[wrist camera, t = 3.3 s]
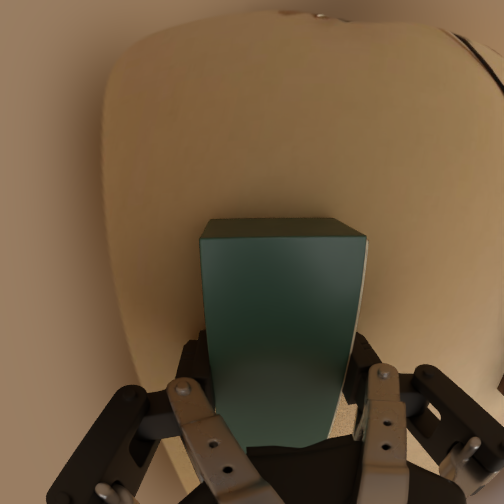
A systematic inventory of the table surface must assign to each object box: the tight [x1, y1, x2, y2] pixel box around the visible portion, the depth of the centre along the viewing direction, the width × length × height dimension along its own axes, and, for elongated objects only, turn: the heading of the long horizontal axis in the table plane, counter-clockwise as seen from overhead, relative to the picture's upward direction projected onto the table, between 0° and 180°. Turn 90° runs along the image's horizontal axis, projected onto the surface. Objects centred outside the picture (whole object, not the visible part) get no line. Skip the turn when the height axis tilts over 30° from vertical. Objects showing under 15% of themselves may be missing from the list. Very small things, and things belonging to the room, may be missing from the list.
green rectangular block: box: [199, 218, 369, 454], centre depth 12 cm, size 12×6×4 cm, turn 1°
